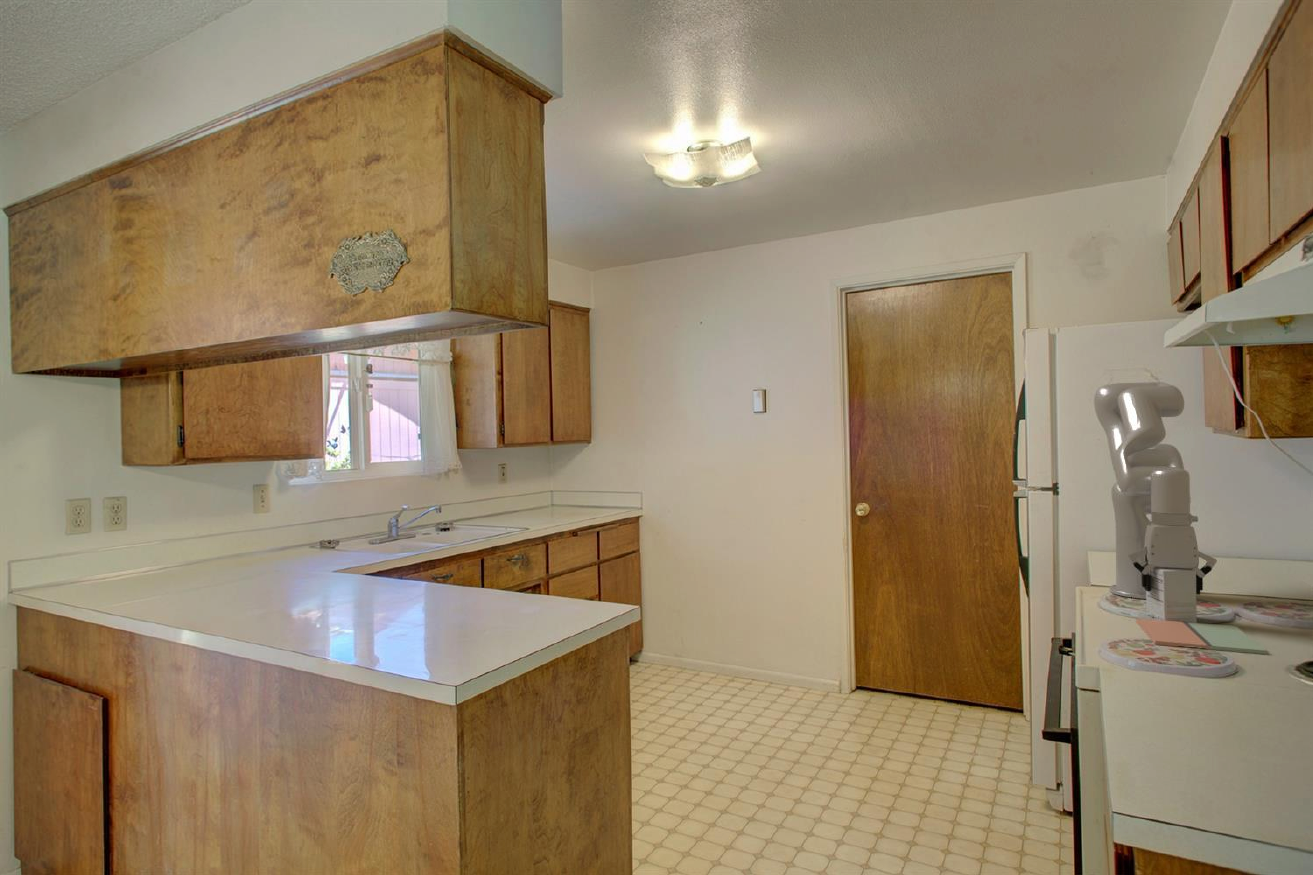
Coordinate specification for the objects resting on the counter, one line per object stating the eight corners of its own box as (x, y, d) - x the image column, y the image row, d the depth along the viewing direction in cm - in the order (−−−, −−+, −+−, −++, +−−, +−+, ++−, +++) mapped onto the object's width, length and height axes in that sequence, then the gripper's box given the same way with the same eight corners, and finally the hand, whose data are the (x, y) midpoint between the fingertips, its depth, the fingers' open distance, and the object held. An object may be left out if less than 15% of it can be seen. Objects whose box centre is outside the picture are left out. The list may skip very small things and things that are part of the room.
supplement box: (1177, 615, 171) (1176, 563, 171) (1197, 623, 163) (1197, 570, 163) (1145, 614, 172) (1144, 563, 171) (1164, 623, 164) (1163, 570, 164)
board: (1135, 621, 166) (1135, 617, 166) (1235, 629, 159) (1235, 625, 158) (1155, 644, 150) (1155, 640, 150) (1267, 654, 142) (1267, 650, 142)
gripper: (1210, 519, 167) (1211, 591, 167) (1124, 517, 174) (1125, 586, 174) (1220, 523, 160) (1222, 598, 160) (1131, 520, 167) (1132, 592, 167)
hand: (1171, 591), depth 167 cm, fingers open, 9 cm apart
